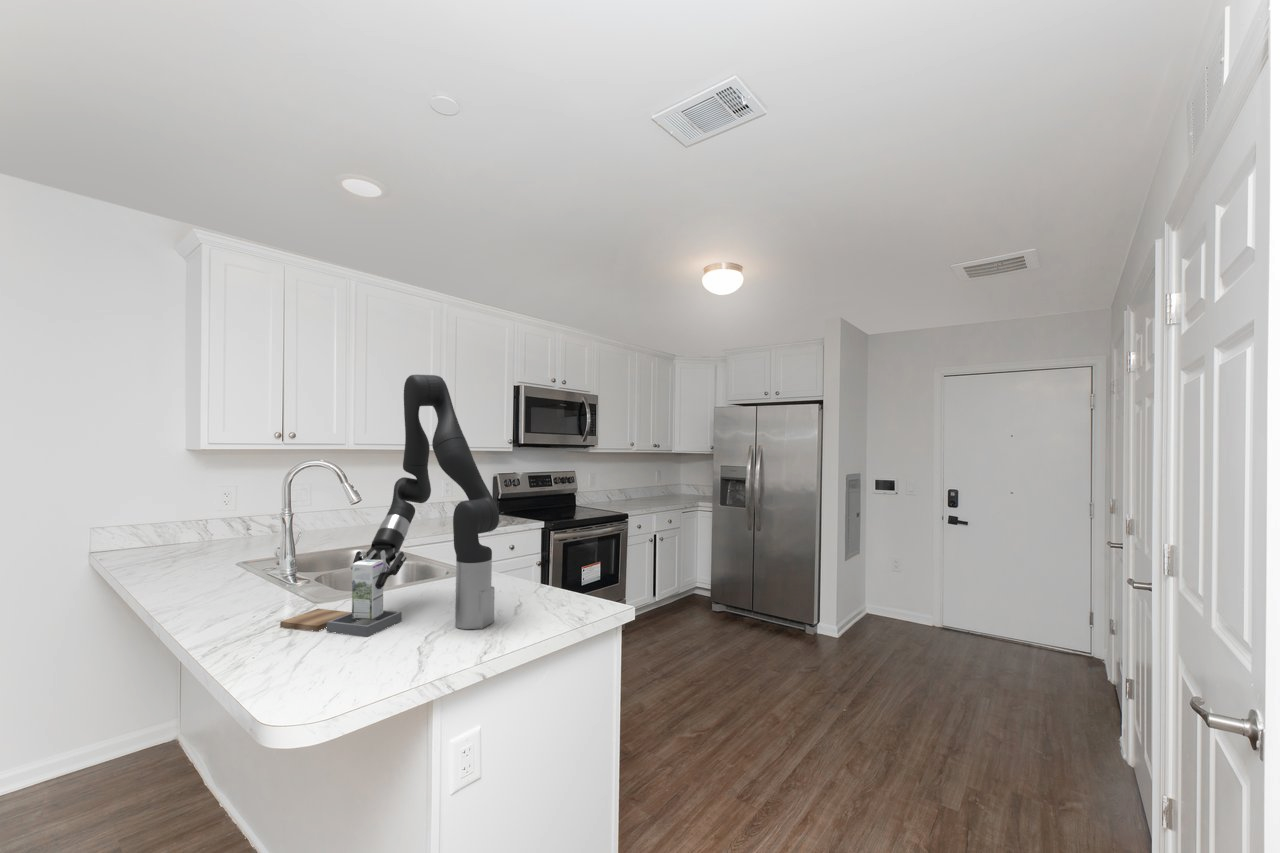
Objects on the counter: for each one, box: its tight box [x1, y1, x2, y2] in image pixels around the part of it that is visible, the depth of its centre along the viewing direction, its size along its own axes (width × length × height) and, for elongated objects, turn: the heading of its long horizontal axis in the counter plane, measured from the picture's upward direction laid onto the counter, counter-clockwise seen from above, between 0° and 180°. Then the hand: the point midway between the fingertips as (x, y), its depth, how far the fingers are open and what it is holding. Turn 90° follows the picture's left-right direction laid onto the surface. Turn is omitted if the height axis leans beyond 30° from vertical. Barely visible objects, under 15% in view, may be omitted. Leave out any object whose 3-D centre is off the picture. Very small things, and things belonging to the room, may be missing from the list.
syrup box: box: [351, 560, 384, 620], centre depth 148 cm, size 6×6×14 cm
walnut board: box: [279, 608, 352, 632], centre depth 151 cm, size 12×12×2 cm
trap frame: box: [325, 609, 403, 638], centre depth 148 cm, size 13×13×2 cm
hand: (366, 587), depth 147 cm, fingers closed on syrup box, 5 cm apart
